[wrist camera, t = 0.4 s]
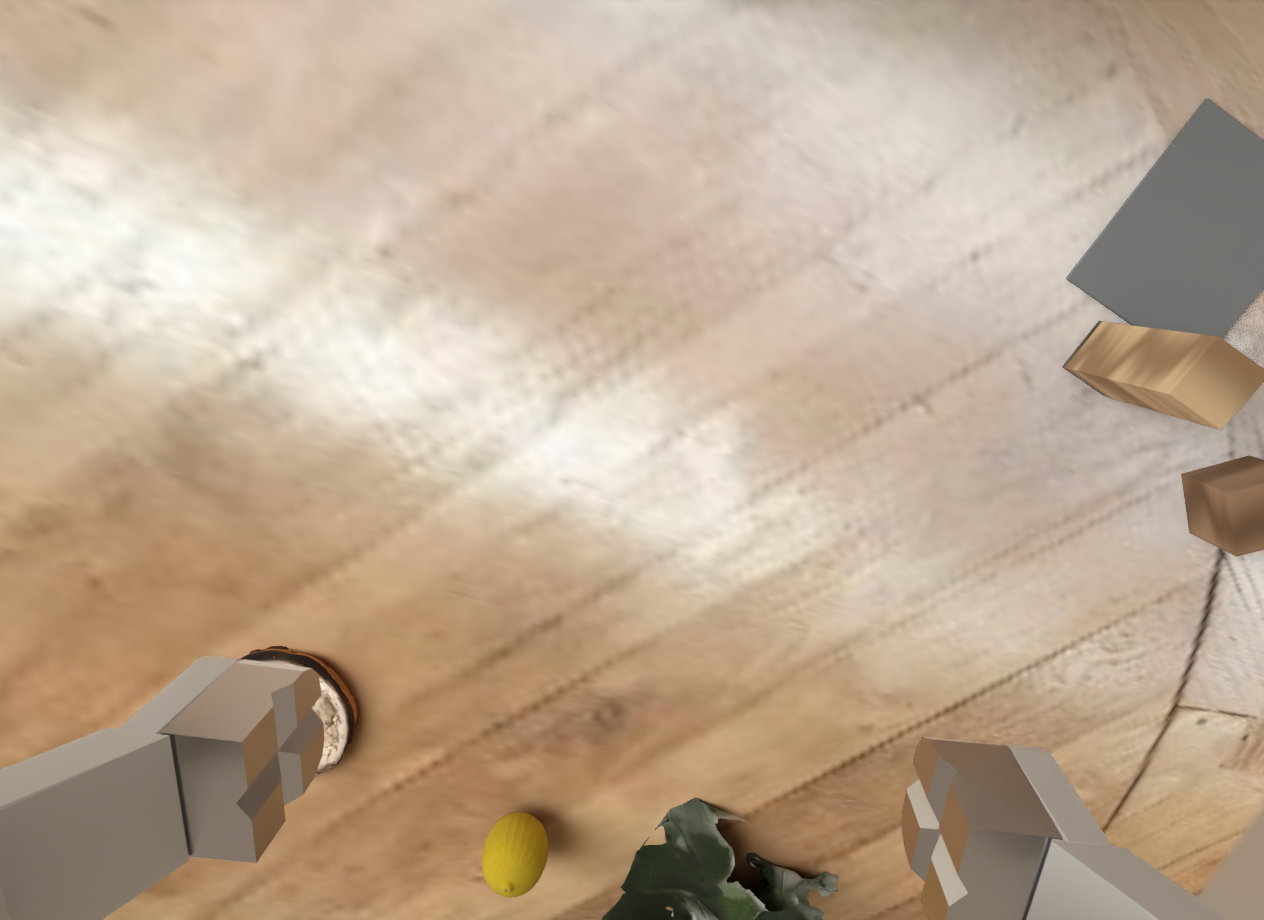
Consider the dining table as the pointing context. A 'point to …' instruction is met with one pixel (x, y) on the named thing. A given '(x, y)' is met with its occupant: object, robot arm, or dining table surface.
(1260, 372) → the oak block
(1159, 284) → the felt mat
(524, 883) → the lemon
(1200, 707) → the dining table surface
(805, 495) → the dining table surface
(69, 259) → the dining table surface
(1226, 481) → the walnut cube
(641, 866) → the rose bouquet
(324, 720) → the cream pie
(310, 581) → the dining table surface
